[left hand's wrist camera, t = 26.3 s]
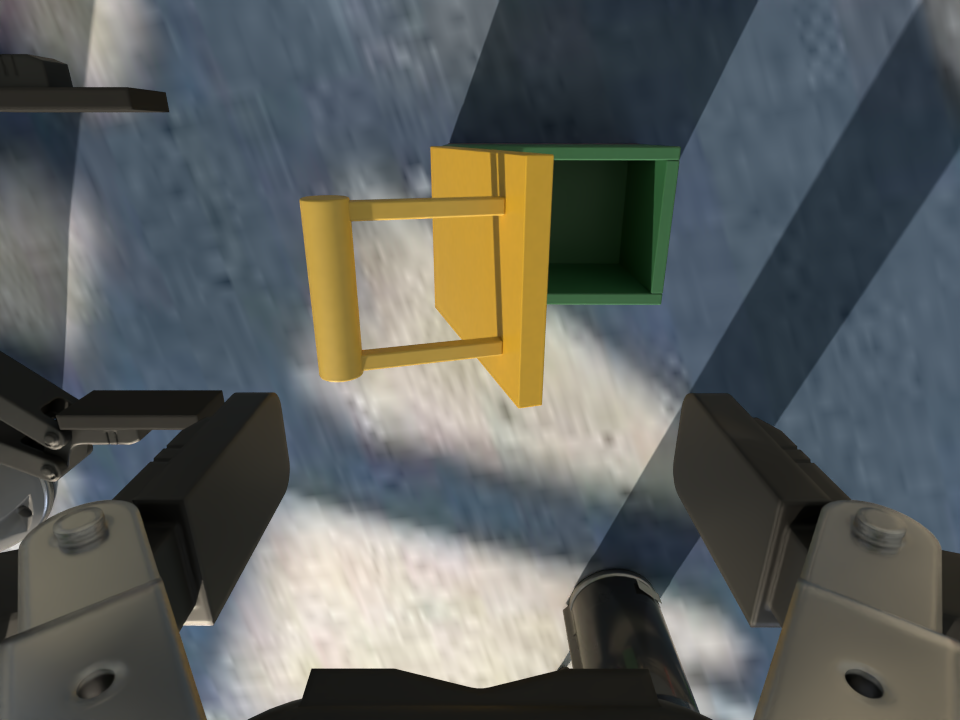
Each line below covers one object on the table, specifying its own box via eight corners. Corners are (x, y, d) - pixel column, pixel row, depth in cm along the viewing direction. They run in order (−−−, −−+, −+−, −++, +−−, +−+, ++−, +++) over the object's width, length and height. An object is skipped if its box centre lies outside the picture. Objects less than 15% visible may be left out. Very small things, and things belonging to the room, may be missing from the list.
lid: (554, 154, 20) (294, 156, 18) (542, 405, 24) (326, 436, 21) (448, 146, 34) (293, 146, 31) (451, 306, 37) (313, 318, 35)
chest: (637, 143, 44) (681, 146, 34) (625, 270, 47) (661, 305, 38) (448, 143, 44) (439, 145, 34) (451, 270, 47) (443, 304, 38)
